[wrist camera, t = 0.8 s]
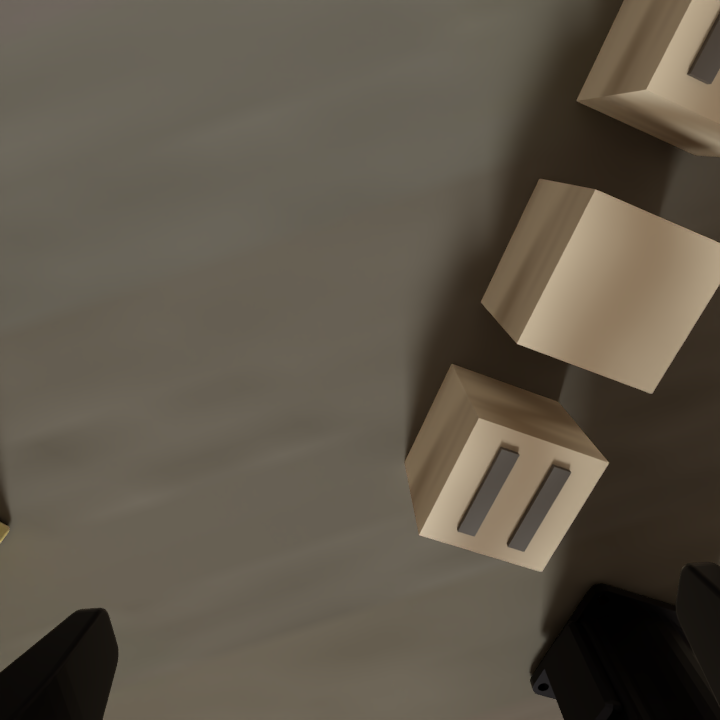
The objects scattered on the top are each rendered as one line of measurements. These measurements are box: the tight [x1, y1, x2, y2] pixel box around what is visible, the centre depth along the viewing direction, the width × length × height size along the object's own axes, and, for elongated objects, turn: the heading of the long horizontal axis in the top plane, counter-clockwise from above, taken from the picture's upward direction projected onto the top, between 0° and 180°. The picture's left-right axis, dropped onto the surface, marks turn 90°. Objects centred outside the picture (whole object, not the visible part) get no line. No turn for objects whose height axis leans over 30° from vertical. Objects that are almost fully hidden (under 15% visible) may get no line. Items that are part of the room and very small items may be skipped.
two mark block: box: [405, 364, 609, 572], centre depth 20 cm, size 4×4×5 cm
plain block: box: [481, 179, 720, 394], centre depth 18 cm, size 4×4×4 cm
